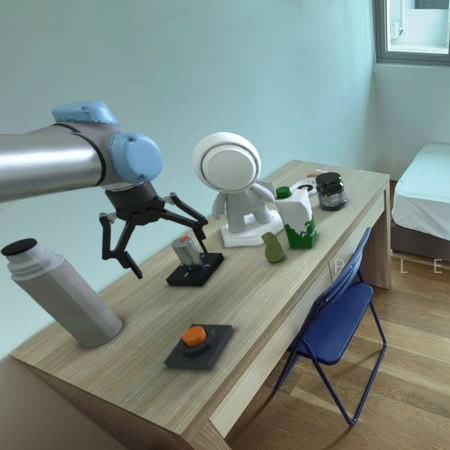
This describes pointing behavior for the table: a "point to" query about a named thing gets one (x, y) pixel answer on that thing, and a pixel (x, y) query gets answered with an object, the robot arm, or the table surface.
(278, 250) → the pear
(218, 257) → the timer panel
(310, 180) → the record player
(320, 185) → the supplement container
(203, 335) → the power button
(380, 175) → the table surface
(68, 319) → the thermos bottle
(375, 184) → the table surface
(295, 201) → the milk carton
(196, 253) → the timer knob
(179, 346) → the black button base
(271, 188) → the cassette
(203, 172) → the white cartoon figure
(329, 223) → the table surface
